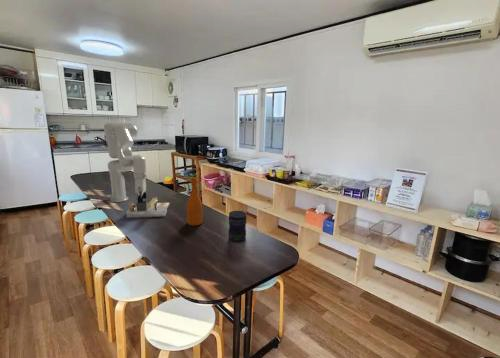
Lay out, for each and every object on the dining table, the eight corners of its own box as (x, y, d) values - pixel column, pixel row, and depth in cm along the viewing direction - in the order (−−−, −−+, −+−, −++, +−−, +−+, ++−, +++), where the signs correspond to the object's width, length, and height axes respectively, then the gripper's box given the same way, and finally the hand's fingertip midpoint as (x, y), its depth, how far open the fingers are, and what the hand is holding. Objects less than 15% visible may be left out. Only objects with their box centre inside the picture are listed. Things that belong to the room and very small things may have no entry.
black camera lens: (239, 244, 133) (240, 218, 130) (224, 239, 138) (224, 214, 135) (249, 237, 141) (250, 213, 138) (235, 233, 146) (235, 209, 143)
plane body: (126, 217, 163) (125, 204, 161) (130, 212, 172) (129, 199, 170) (165, 216, 168) (164, 203, 165) (166, 211, 176) (166, 199, 174)
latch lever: (151, 208, 155) (151, 204, 154) (147, 208, 155) (147, 204, 154) (157, 200, 170) (157, 196, 169) (154, 200, 169) (153, 196, 169)
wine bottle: (205, 222, 161) (205, 176, 154) (196, 227, 152) (195, 180, 145) (193, 219, 165) (192, 174, 158) (183, 224, 156) (182, 177, 149)
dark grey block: (136, 210, 165) (136, 203, 164) (138, 207, 170) (138, 200, 169) (146, 210, 166) (146, 203, 165) (148, 207, 171) (147, 200, 170)
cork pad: (151, 209, 180) (151, 207, 180) (154, 203, 190) (154, 202, 190) (167, 208, 182) (167, 207, 182) (169, 203, 192) (169, 202, 192)
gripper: (137, 173, 170) (139, 197, 174) (130, 178, 154) (132, 205, 158) (149, 172, 172) (150, 196, 175) (143, 178, 155) (145, 204, 159)
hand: (142, 200), depth 166 cm, fingers open, 9 cm apart
